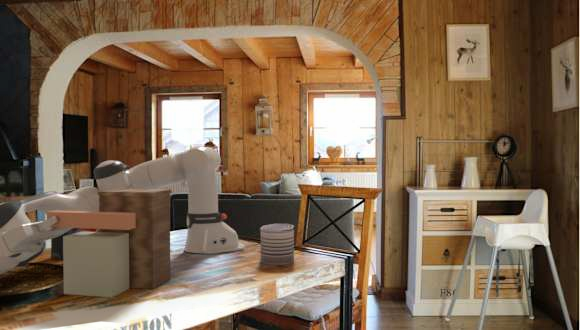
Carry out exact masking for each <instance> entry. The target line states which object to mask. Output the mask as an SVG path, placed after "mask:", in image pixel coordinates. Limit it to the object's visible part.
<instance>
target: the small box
mask: <svg viewBox="0 0 580 330" xmlns="http://www.w3.org/2000/svg"><path fill="white" fill-rule="evenodd" d="M79 232H83V228H73V229H71V230H69V231H68V232H66V233H64V234H62V235H60V236H58V237H56V238H53V239H50V241H51V242H50V243H51V244H50V253H51V254H50V258H53V259H55V260H62V261H63V236H66V235H70V234H74V233H79Z"/></svg>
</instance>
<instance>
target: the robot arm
mask: <svg viewBox="0 0 580 330" xmlns="http://www.w3.org/2000/svg"><path fill="white" fill-rule="evenodd" d="M221 163H222V158H221V155H220V154H219V152H218V150H216V149H215V148H213V147H210V146H200V145H199V146H198V145H197V146H193V147H191V148H190V149H188V150H187V151H184V152H183V151H182V152H179V153H175V154H170V155H166V156H165V155H164V156H162V157H158V158H155V159H152V160H148V161H144V162H142V163H139V164H137V165H134V166H133V167H130V166H129V165H128V164H124V163H123V162H122V161H119V160H113V159H112V160H111V159H110V160H105V161H103V162H100V163H99V164H98V165H97V166H95V168H94V169H93V175H94V176H93V177H94V180H96V184H97V187H96V186H95V187H94V186H92V185H89V186H88V185H87V186H84V187H79V188H78V189H75V190H73V191H71V192H69V193H66V194H65V193H60V192H57V191H55V190H54V191H46V192H43V193H42V192H41V193H39V194H35V195H34V194H33V195H31V196H27V197H25V198H20V199H16V200H9V201H6V202H2V203H0V275H3V274H5V273H7V272H8V271H11V270H12V269H14V268H16V267H18V268H19V267H23V266H25V265H26V264H28V263H29V262H32V261H33V260H35V259H37V258H38V257H40V256H41V254H43V253H44V249H45V247H46V241H48V240H51V239H53V238H56V237H58V236H60V235H62V234H64V233H66V232H68V231H69V230H71V229H73V228H64V227H50V226H52V225H54V224H57V223H58V222H60V219H59V217H58V216H53V217H51V218H49V219H47V218H46V219H45V220H42V221H37V222H32V220H30V218H29V217H28V215H27V214H26V213H29V212H33V211H36V210H37V211H40V212H42V213H43V214H45V215H46V216H47V212H49V211H55V210H62V211H97V212H99V195H98V193H97V191H105V190H113V189H163V188H165V187H169V186H173V185H176V184H181V183H185V182H186V185H187V186H186V187H187V197H188V198H187V201H188V203H187V204H188V205H187V206H188V209H187V210H188V211H187V215H186V226H187V235H186V240H185V246H184V249H183V251H184V252H186V253H187V252H188V253H192V254H193V253H194V254H202V255H203V254H205V255H213V254H221V253H229V252H234V251H235V252H236V251H242V250H245V245H244V244H243V243H241V242H239V236H238V234H237V231H236V230H234V228H232V227H230V225H228V224H227V223H226V222H224V220H226V219H227V218H228V215H227V214H226V213H221V212H219V192H218V191H219V190H218V187H217V180H216V172H217V171H218V170H219V168H220V167H221ZM128 168H129V169H128Z"/></svg>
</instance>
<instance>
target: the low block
mask: <svg viewBox="0 0 580 330" xmlns="http://www.w3.org/2000/svg"><path fill="white" fill-rule="evenodd" d="M62 261H63V262H62V263H63V265H62V266H63V268H62V269H63V294H64V295H75V296H87V297H88V296H89V297H101V298H102V297H104V298H113V297H116V296H117V295H120V294H121V293H123V292H126V291H127V290H130V288H129V233H111V232H85V231H83V232H79V233H74V234H70V235H66V236H63V259H62Z"/></svg>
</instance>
